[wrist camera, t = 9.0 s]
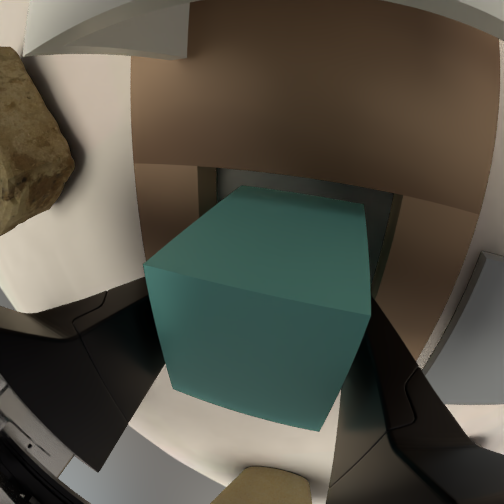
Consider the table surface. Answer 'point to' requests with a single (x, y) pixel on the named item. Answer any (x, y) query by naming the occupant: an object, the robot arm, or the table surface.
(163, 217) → the brown wooden board
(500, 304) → the slate mat
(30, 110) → the stone block
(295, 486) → the plant pot
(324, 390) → the teal block
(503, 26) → the cover
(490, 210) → the table surface
